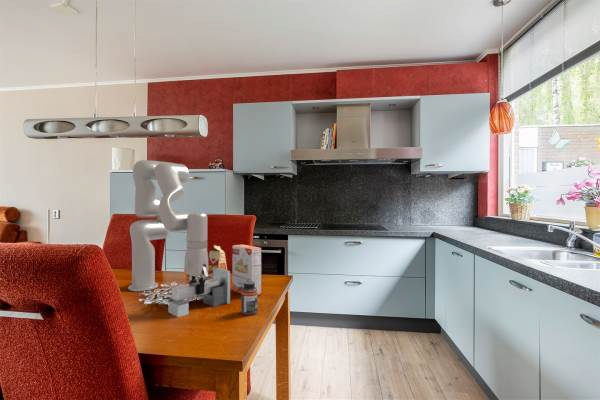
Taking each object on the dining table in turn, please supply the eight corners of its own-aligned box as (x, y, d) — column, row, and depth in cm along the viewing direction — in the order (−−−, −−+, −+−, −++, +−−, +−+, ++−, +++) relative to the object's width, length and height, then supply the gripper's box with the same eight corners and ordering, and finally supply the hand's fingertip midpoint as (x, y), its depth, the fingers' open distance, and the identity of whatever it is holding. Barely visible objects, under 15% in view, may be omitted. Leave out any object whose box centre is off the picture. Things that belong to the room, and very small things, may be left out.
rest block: (168, 312, 115) (168, 298, 115) (178, 309, 118) (178, 296, 118) (178, 317, 111) (178, 303, 111) (188, 314, 114) (188, 300, 114)
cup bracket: (201, 301, 127) (201, 269, 127) (215, 298, 132) (215, 267, 132) (215, 307, 121) (215, 273, 121) (229, 303, 126) (230, 270, 126)
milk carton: (221, 288, 146) (221, 246, 146) (202, 287, 148) (203, 245, 148) (229, 283, 155) (229, 243, 155) (212, 282, 157) (212, 242, 157)
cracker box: (231, 291, 142) (231, 245, 142) (242, 288, 147) (242, 243, 147) (250, 297, 133) (251, 248, 133) (261, 294, 137) (261, 247, 137)
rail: (171, 298, 115) (171, 287, 115) (214, 288, 128) (214, 278, 128) (177, 301, 112) (177, 289, 112) (219, 290, 126) (219, 280, 126)
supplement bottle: (241, 310, 118) (242, 280, 118) (257, 309, 118) (258, 280, 118) (240, 316, 112) (240, 284, 112) (257, 315, 112) (257, 284, 112)
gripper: (176, 243, 123) (176, 290, 123) (200, 248, 112) (199, 299, 112) (194, 242, 128) (194, 286, 128) (218, 246, 117) (217, 295, 117)
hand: (196, 292), depth 120 cm, fingers closed on rail, 4 cm apart
